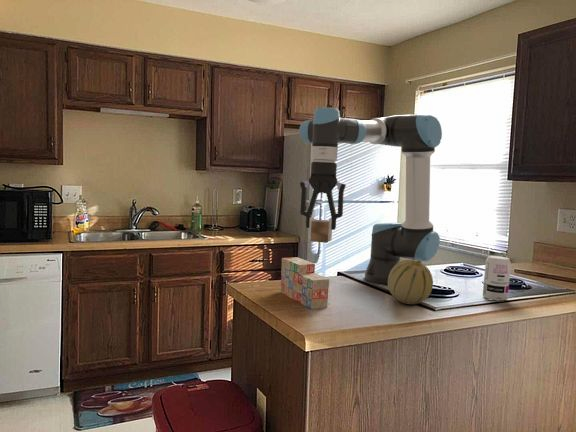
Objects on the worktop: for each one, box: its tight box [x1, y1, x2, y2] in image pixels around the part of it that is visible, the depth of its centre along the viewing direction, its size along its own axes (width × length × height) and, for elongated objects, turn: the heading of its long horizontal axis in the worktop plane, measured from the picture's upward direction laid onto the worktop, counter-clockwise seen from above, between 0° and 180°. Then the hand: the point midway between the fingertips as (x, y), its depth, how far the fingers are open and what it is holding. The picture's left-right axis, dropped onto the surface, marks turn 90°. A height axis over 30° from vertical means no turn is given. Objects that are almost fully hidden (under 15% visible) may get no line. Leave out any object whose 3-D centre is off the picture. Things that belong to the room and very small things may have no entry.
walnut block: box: [310, 219, 329, 244], centre depth 144 cm, size 5×5×6 cm
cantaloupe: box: [387, 259, 434, 305], centre depth 160 cm, size 15×15×15 cm
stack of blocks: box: [280, 256, 330, 310], centre depth 158 cm, size 21×6×12 cm, turn 27°
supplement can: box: [482, 255, 512, 301], centre depth 172 cm, size 8×8×15 cm
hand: (320, 239), depth 144 cm, fingers closed on walnut block, 5 cm apart
